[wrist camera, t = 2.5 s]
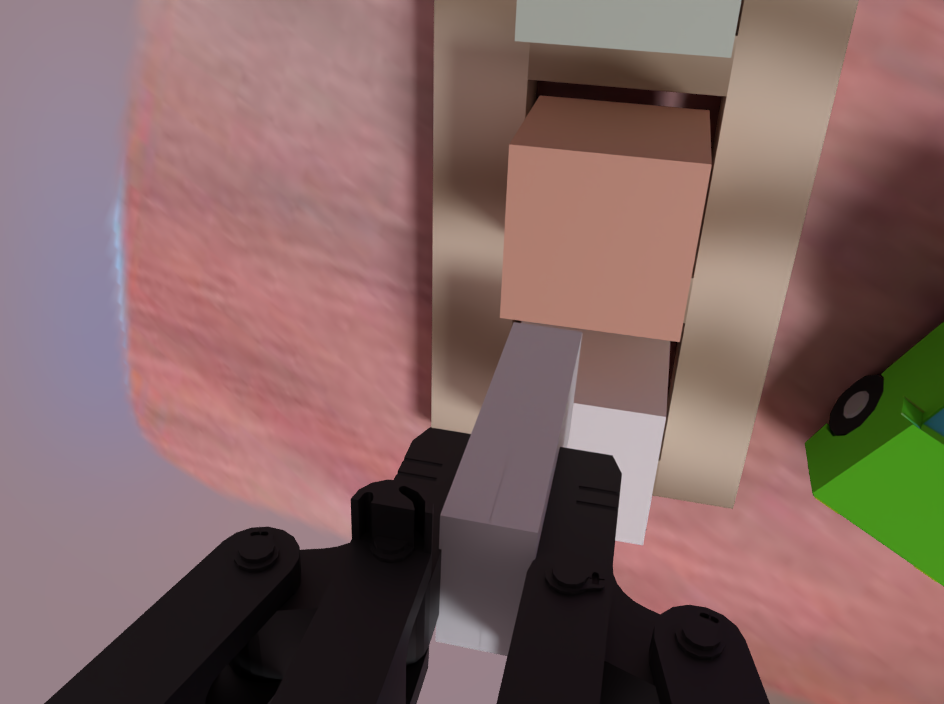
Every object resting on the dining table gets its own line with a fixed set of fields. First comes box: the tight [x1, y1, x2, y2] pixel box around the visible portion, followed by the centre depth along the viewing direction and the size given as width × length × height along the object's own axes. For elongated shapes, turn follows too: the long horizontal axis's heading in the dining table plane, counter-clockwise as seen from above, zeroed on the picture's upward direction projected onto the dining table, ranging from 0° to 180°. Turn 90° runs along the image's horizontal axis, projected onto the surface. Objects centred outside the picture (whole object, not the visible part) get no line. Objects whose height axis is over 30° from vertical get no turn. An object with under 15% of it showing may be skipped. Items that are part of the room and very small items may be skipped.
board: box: [431, 0, 859, 509], centre depth 33 cm, size 29×14×3 cm, turn 178°
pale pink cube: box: [521, 321, 670, 545], centre depth 34 cm, size 6×6×6 cm
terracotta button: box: [500, 95, 712, 342], centre depth 29 cm, size 6×6×6 cm
